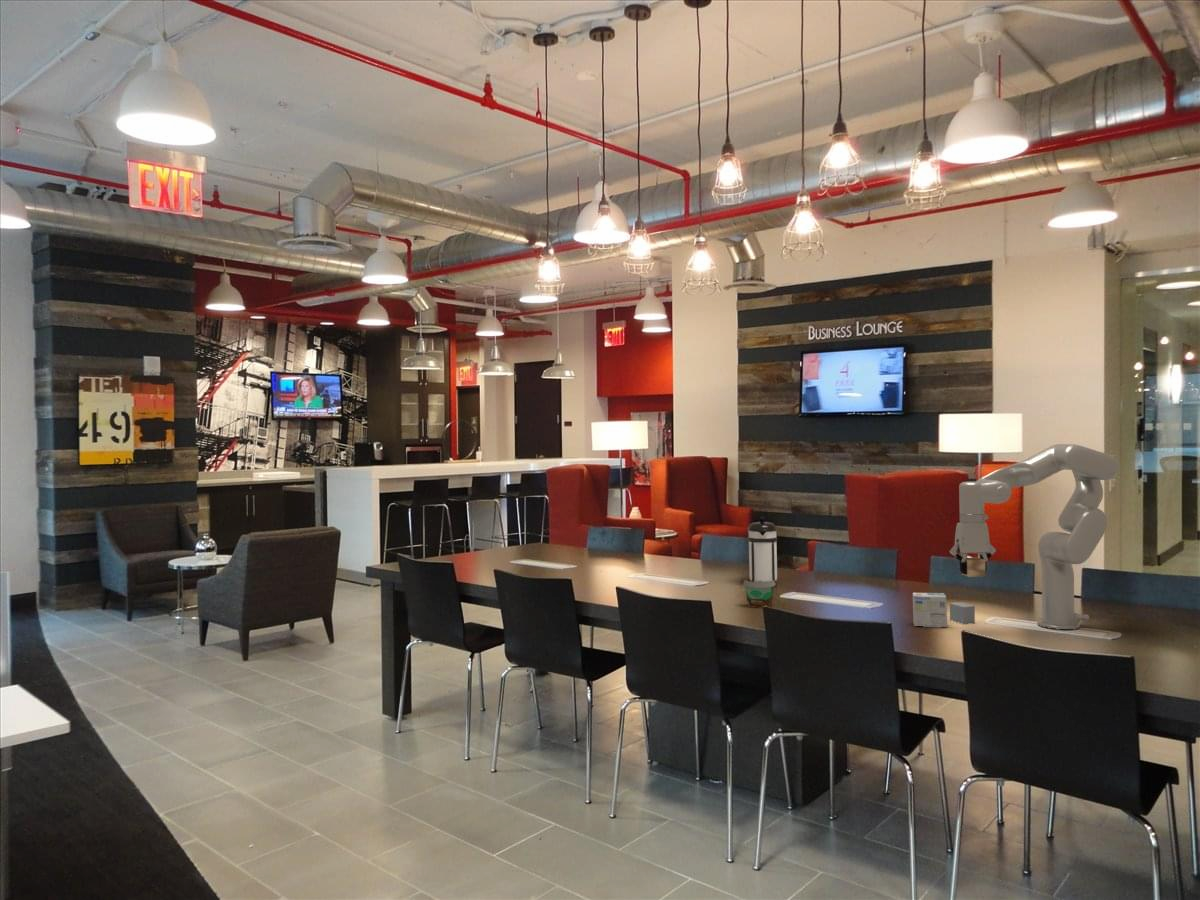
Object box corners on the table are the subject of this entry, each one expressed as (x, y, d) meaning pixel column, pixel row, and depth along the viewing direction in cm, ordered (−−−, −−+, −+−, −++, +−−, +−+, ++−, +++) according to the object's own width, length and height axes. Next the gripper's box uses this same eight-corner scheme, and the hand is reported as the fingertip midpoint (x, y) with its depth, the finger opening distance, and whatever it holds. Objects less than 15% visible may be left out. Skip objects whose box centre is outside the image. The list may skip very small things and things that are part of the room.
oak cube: (977, 573, 280) (977, 557, 280) (985, 576, 275) (985, 559, 275) (961, 574, 280) (961, 557, 280) (968, 577, 275) (968, 560, 274)
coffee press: (789, 584, 366) (788, 516, 366) (761, 588, 358) (760, 519, 358) (763, 579, 381) (761, 513, 381) (735, 583, 373) (734, 516, 373)
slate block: (960, 619, 295) (960, 602, 295) (974, 623, 288) (974, 606, 288) (950, 620, 293) (949, 603, 293) (963, 624, 287) (963, 607, 287)
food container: (742, 607, 321) (742, 582, 321) (743, 604, 327) (743, 579, 327) (775, 608, 318) (774, 582, 318) (776, 605, 324) (775, 579, 324)
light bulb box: (945, 623, 288) (944, 592, 288) (947, 628, 282) (947, 596, 282) (912, 622, 291) (911, 591, 291) (914, 627, 285) (913, 595, 284)
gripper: (992, 517, 281) (993, 570, 281) (941, 518, 281) (942, 572, 281) (1003, 519, 273) (1004, 574, 274) (951, 521, 273) (952, 576, 273)
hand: (973, 572), depth 277 cm, fingers closed on oak cube, 5 cm apart
